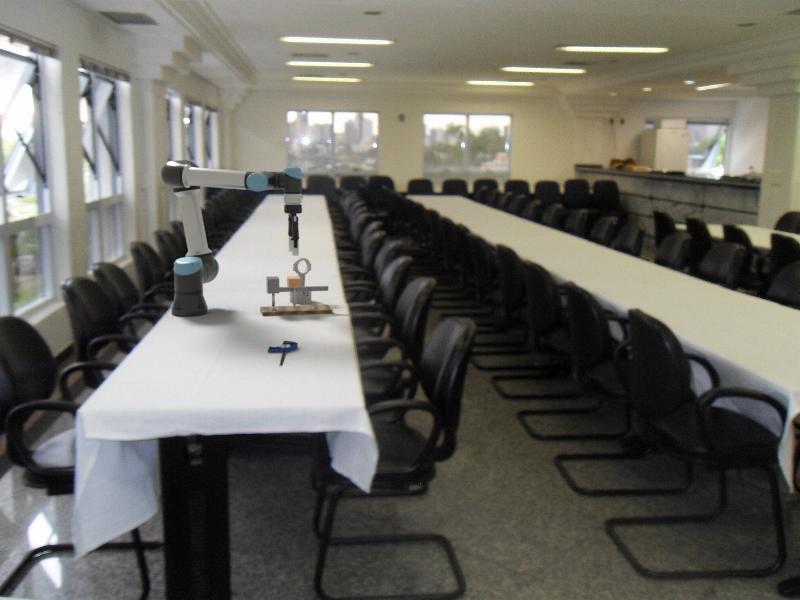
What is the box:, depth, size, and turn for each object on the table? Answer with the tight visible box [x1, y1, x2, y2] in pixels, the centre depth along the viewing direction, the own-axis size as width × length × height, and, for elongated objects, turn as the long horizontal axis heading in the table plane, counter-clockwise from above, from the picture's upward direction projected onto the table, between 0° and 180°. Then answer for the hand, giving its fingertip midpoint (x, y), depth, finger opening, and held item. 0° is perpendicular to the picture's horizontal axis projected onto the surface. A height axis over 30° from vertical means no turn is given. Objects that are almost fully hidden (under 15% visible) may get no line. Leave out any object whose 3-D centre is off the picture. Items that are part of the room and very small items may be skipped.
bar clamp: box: [267, 340, 298, 368], centre depth 272 cm, size 32×2×10 cm
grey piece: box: [265, 275, 329, 310], centre depth 346 cm, size 26×7×14 cm, turn 104°
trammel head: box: [286, 275, 300, 308], centre depth 346 cm, size 5×7×13 cm
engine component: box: [289, 257, 312, 305], centre depth 369 cm, size 11×20×10 cm
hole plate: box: [260, 304, 333, 317], centre depth 348 cm, size 30×12×2 cm, turn 104°
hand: (293, 253), depth 343 cm, fingers open, 13 cm apart
